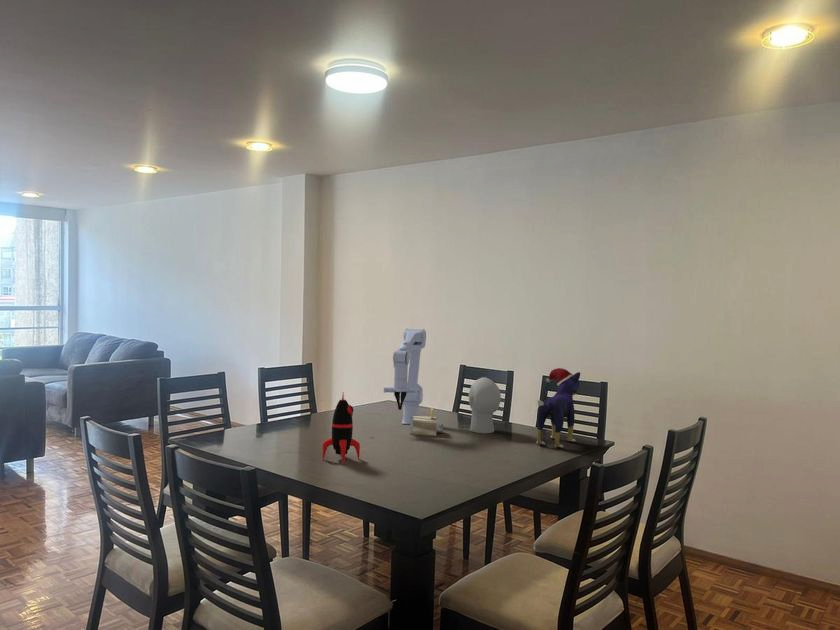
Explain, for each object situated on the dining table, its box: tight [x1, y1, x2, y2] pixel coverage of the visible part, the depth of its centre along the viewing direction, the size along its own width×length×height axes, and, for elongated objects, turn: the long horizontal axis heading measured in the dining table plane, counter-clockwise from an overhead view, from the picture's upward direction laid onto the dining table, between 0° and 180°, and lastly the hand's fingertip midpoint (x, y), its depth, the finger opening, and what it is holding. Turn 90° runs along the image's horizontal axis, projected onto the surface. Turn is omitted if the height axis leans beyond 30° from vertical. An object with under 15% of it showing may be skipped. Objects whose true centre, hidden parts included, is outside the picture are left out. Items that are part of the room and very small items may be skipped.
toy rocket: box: [322, 393, 361, 464], centre depth 223 cm, size 10×10×25 cm
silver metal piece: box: [409, 417, 444, 435], centre depth 272 cm, size 7×14×6 cm, turn 91°
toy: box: [536, 367, 581, 449], centre depth 259 cm, size 16×40×30 cm, turn 146°
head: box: [467, 376, 502, 434], centre depth 279 cm, size 14×18×25 cm
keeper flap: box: [430, 407, 434, 420], centre depth 271 cm, size 6×1×4 cm, turn 1°
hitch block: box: [412, 415, 438, 436], centre depth 272 cm, size 10×10×6 cm
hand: (399, 409), depth 271 cm, fingers closed
